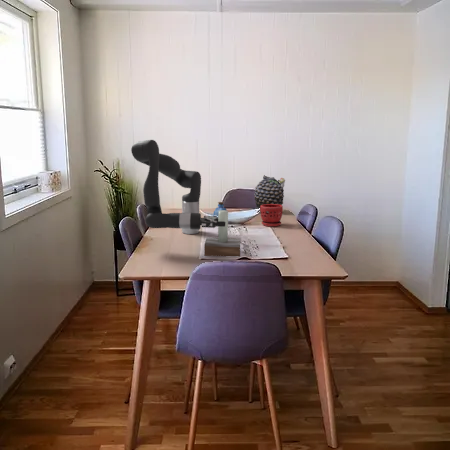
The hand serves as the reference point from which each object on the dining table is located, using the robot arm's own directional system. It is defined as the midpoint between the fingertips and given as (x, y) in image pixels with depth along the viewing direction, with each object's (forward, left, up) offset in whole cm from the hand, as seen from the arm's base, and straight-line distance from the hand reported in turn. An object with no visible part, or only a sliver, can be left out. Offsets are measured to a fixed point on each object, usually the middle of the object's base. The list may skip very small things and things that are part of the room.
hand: (225, 222), depth 215 cm
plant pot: (-64, +25, -15) cm, 70 cm away
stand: (0, -1, -14) cm, 15 cm away
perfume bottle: (-69, -5, -15) cm, 71 cm away
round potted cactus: (-104, +26, -15) cm, 109 cm away
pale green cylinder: (0, -1, -9) cm, 9 cm away
